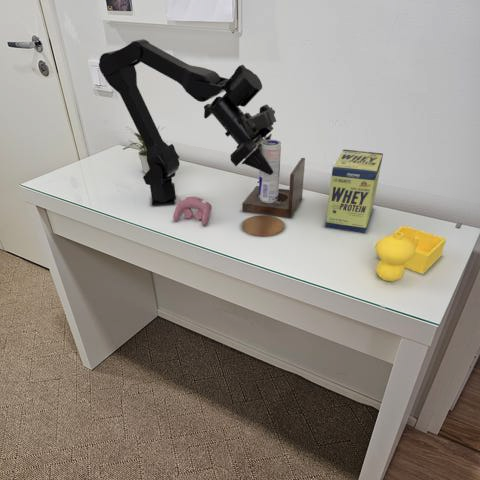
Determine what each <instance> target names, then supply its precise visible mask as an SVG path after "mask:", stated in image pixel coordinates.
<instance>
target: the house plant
mask: <svg viewBox="0 0 480 480" xmlns="http://www.w3.org/2000/svg"><path fill="white" fill-rule="evenodd" d="M165 128H166V126H165V127H162V128H161V129H160V126H158V127H157V130H158V131H159V129H160V131H162V130H163V129H165ZM125 130H127V131H129V126H126V129H125ZM130 134H132V136H136V138H137V140H138V141H139V142H138V143H137V142H134V141H132V140H129V142H130V143H129V145H128V148H130V147H132V146H136V147H137V148H139V151H138V157H139V161H140V163H141V166H142V169H143V170H142V171H143V173H144V174H146V173H147V172H148V171H149V169H150V168H149V166H148V163H147V150H146V146H145V144H144V142H143V140H142V138H141V136H140V134H139V133H137V132H134V130H133V129H132V128H130ZM139 143H141V144H139Z"/></svg>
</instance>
